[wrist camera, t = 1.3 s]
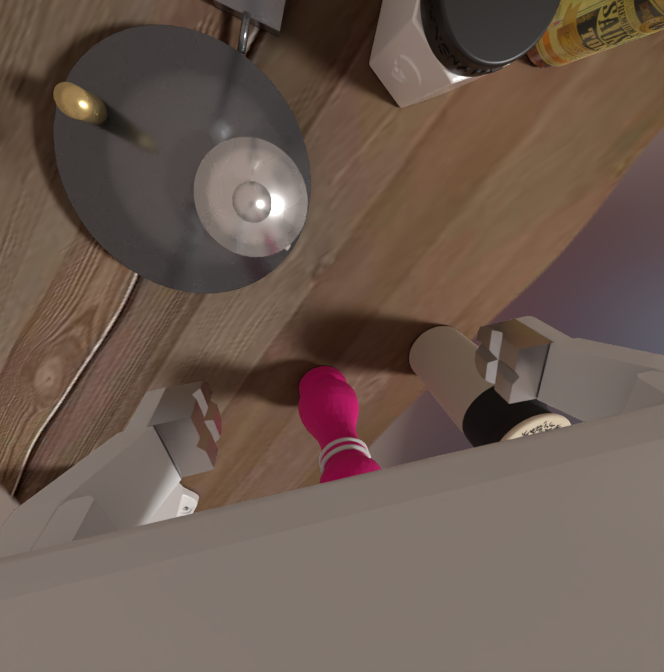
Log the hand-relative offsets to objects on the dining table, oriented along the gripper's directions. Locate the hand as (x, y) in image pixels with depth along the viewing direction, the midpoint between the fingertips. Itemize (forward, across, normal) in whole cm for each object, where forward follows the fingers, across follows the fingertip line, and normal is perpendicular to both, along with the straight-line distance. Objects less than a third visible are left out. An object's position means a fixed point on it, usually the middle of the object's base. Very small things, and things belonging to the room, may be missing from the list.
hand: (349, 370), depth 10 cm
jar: (+28, -13, -13) cm, 33 cm away
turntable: (+27, +8, -5) cm, 28 cm away
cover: (+24, +3, -3) cm, 25 cm away
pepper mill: (+27, 0, +20) cm, 34 cm away
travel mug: (+27, -16, +19) cm, 37 cm away
